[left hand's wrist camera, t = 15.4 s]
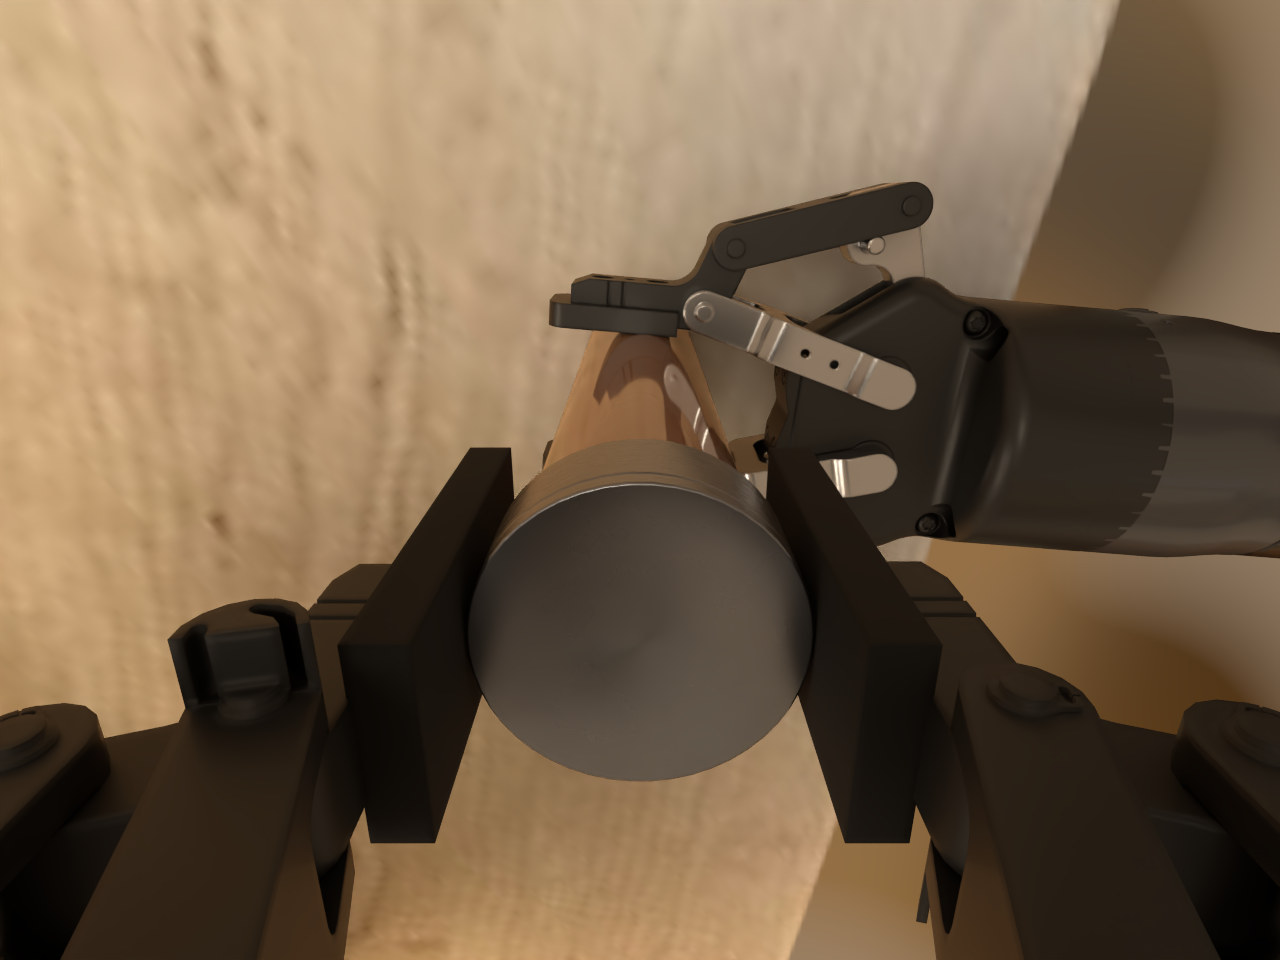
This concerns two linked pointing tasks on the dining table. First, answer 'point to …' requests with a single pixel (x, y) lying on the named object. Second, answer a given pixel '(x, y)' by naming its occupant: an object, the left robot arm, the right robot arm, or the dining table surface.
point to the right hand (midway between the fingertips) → (551, 387)
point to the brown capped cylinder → (639, 396)
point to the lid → (640, 613)
